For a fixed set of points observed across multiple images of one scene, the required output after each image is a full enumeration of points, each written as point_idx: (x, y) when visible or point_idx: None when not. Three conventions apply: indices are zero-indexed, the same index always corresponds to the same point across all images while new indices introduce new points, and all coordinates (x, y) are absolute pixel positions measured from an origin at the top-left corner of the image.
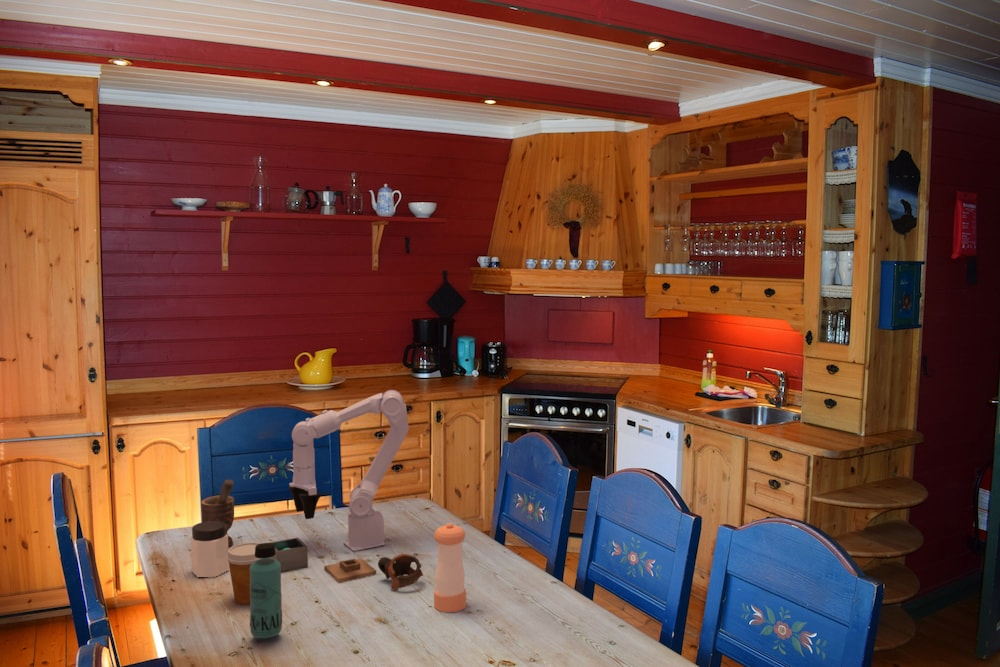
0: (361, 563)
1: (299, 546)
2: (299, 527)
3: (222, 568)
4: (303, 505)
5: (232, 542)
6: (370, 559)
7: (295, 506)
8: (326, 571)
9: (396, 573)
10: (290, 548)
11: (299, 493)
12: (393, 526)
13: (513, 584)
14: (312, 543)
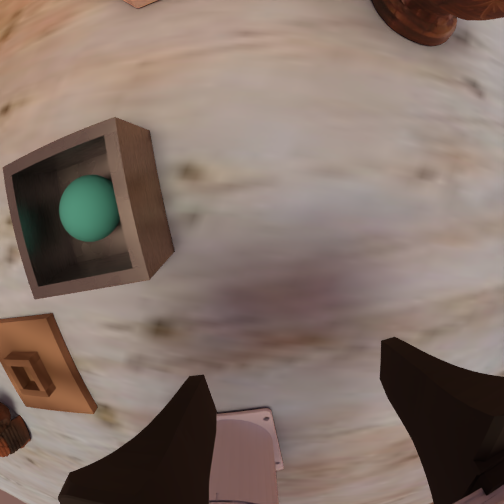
0: (60, 401)
1: (96, 270)
2: (483, 289)
3: None
4: (150, 436)
5: (414, 37)
6: (115, 427)
7: (408, 348)
8: (40, 315)
9: (15, 424)
10: (80, 228)
11: (443, 440)
12: (341, 489)
13: (28, 489)
14: (319, 321)
